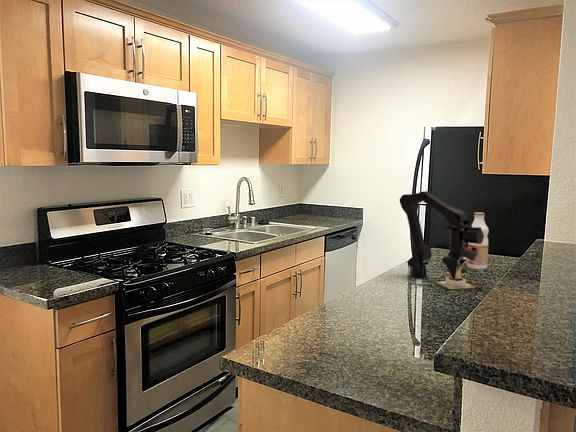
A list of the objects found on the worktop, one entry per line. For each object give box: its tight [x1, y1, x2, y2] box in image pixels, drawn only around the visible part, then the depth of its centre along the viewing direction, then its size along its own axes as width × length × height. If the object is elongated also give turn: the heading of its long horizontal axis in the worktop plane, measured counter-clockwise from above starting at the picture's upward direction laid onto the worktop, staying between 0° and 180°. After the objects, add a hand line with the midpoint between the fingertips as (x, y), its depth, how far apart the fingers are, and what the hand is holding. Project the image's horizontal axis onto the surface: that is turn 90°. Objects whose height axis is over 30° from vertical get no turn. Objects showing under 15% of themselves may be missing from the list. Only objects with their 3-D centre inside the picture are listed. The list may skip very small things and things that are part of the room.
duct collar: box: [445, 276, 467, 287], centre depth 198 cm, size 8×8×2 cm
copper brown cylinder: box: [449, 265, 462, 281], centre depth 198 cm, size 4×4×8 cm
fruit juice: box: [466, 211, 490, 270], centre depth 232 cm, size 9×9×28 cm
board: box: [436, 280, 477, 290], centre depth 198 cm, size 12×12×1 cm
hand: (455, 277), depth 198 cm, fingers open, 5 cm apart
